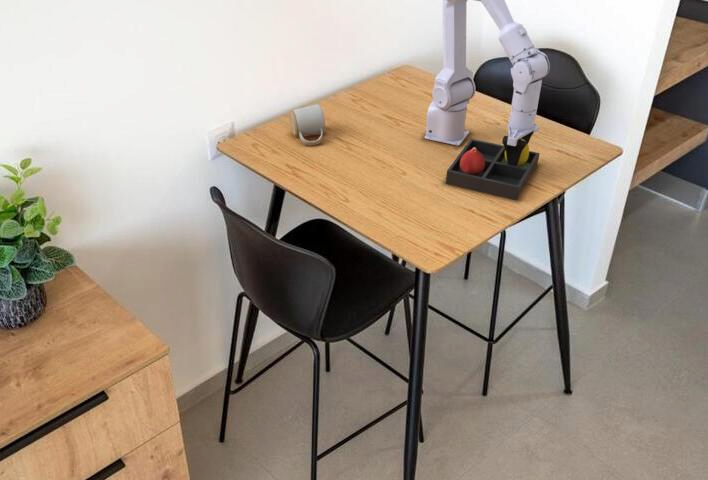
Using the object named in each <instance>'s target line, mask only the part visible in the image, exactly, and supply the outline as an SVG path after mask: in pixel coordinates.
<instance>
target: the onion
mask: <svg viewBox="0 0 708 480" xmlns="http://www.w3.org/2000/svg"><path fill="white" fill-rule="evenodd" d="M484 167H485V159H484V157H483V155H482V154H481V153H480V152H479V151H478V150H477V149H476V148H473V149H471V150H469V151H467V152H466V153H465V154H464V155H463V156H462V157H461V160H460V168H461V170H462V172H463V173H466V174H470V175H474V176H476V175H478V174H480V173H481V172H482V171H483V170H484Z"/></svg>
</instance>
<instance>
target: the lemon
mask: <svg viewBox="0 0 708 480" xmlns="http://www.w3.org/2000/svg"><path fill="white" fill-rule="evenodd" d="M520 139H521V138H520ZM521 141H525V140H524V139H521ZM529 151H530V145H529V143H527V145H526V146H525V148H524V149H523V151H522V153H521V156H520V159H519V162H518V164H517V166H518V167H520V166H522V165H523V164H525V163H526V161H527V159H528V157H529ZM505 159H506V162H507V157H506V150H505Z"/></svg>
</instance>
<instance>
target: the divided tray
mask: <svg viewBox="0 0 708 480" xmlns="http://www.w3.org/2000/svg"><path fill="white" fill-rule="evenodd" d="M473 148H476V149H477V150H478V151H479V152H480V153H481V154H482V155H483V157H484V159H485V167H484V170H483V171H482V172H481V173H480V174H478V175H476V176H474V175H470V174H466V173H463V172H462V170H461V168H460V160H461V157H462V156H463V155H464V154H465V153H466V152H467V151H469V150H471V149H473ZM540 154H541V153H540V152H537V151H531V150H529V157H528V159H527V161H526V163H525V164H523V165H522V166H520V167H518V166H514V165H509V164H507V162H506V159H505V147H504V145H503V144H498V143H494V142H489V141H485V140H480V139H474V138H470V139H469V140H468V141H467V143H466V145H465V146H464V147H463V148H462V150H461V151H460V153H459V154H458V155H457V157H456V158H455V159H454V161H453V162H452V164H450V166H449V168H448V169H447V170H446V177H445V184H446V185H450V186H454V187H459V188H463V189H467V190H471V191H476V192H479V193H485V194H488V195H493V196H497V197H501V198H504V199H509V200H513V201H518V200H519V198H520V196H521V195H522V194H523V191H524V190H525V188H526V186H527V185H528V183H529V181H530V179H531V177H532V176H533V174H534V172H535V171H536V169H537V167H538V165H539V159H540Z"/></svg>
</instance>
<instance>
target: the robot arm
mask: <svg viewBox="0 0 708 480" xmlns="http://www.w3.org/2000/svg"><path fill="white" fill-rule="evenodd" d="M474 1H476V2H480V3H481V4H482V5H483V7H484V8H485V10H486V12H487V13H488V15H489V16H490V17H491V19H492V20H493V22H494V24H495V26H497V28H498V30H499V35H498V41H499V43H500V45H501V47H502V48H503V50H504V52H505V55H506V56H507V57H508V59H509V62H510V63H511V65H512V66H513V67H511V68H510V75H511V78H512V81H513V83H512V87H513V93H512V100H511V105H510V113H509V119H508V122H507V133H508V135H503V137H502V140H501V144H502V145H504V147H505V150H506V157H507V164H509V165H514V166H517V164H518V162H519V159H520V156H521V153H522V151H523V149H524V148H525V146H526V145H527V143H528V144H529V143H530V140H531V139H532V136H533V135H534V133H537V132H539V130H540V125H538V124H536V117H537V112H538V107H539V106H538V105H539V100H540V96H541V95H540V94H541V88H542V82H543V78H544V77H547V75H548V74H549V73H550V70H551V63H550V60H549V58H548V56H547V54H546V53H544V52H543V51H541V50H539V48H537V47H535V45H534V43H533V41H532V39H531V38H530V36H529V35H528V31H527V29H526V27H524V25H523V24H522V23H518V22H516V21H515V20H514V18H513V16H512V14H511V11H510V10H509V9H510V8H509V7H508V4H507V3H506V0H474ZM467 3H468V0H442V58H443V59H442V69H441V70H440V71H439V73H437V75H436V77H435V78H434V86H433V88H432V95H431V96H432V101H431V102H430V104H429V107H428V109H427V114H426V123H425V124H426V125H425V136H424V139H425V140H428V141H429V140H430V141H434V142H439V143H444V144H447V145H452V146H457V147H458V146H460V145H461V144H462V143H463V141H465V139H466V138H467V136H469V134H470V131H469V130H465V127H466V119H467V112H468V111H467V110H468V105H469V104H470V100H471V99H473V98H474V97H475V95H476V88H477V87H476V84H475V81H474V71H472V70H471V69H470V68H468V67H467ZM520 138H521V139H524V140H525V141H521V139H520Z"/></svg>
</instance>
